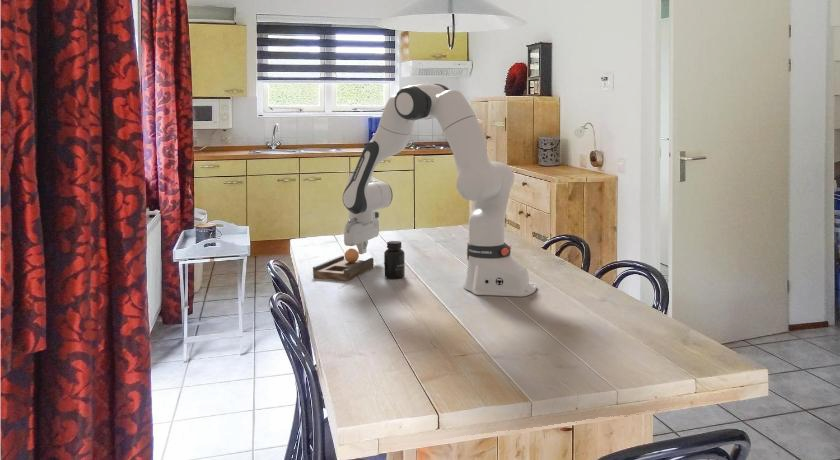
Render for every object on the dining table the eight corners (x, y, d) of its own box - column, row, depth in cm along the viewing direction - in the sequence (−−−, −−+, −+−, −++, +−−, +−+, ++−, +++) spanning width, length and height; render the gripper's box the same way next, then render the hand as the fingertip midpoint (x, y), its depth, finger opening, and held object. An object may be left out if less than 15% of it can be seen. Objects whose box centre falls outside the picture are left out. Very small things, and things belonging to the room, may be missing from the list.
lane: (373, 268, 238) (373, 258, 238) (346, 281, 221) (346, 270, 221) (341, 265, 243) (341, 255, 243) (313, 277, 226) (312, 267, 226)
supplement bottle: (402, 279, 222) (401, 244, 219) (382, 279, 223) (381, 243, 221) (406, 274, 228) (406, 240, 226) (387, 274, 230) (386, 239, 227)
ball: (361, 261, 238) (361, 247, 237) (354, 264, 234) (354, 250, 233) (349, 260, 240) (348, 246, 239) (342, 263, 236) (341, 249, 235)
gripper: (354, 221, 230) (356, 260, 233) (381, 212, 249) (382, 248, 251) (338, 220, 233) (340, 258, 235) (366, 211, 251) (367, 247, 254)
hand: (362, 253), depth 244 cm, fingers closed
